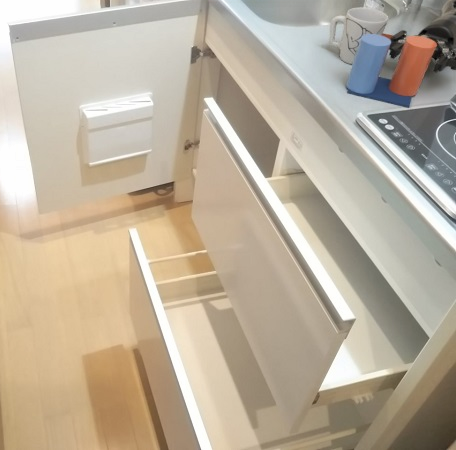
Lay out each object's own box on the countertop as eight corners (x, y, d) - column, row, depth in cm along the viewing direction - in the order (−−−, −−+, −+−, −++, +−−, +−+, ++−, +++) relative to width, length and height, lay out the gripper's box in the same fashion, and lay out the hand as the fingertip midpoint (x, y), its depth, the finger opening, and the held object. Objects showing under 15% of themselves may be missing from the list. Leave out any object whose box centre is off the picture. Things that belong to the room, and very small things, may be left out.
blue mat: (413, 86, 108) (414, 84, 108) (409, 107, 101) (409, 106, 101) (355, 73, 111) (355, 71, 111) (347, 93, 105) (347, 91, 104)
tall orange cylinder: (418, 87, 107) (437, 39, 100) (415, 98, 103) (436, 50, 96) (390, 80, 109) (407, 33, 102) (386, 92, 105) (404, 44, 98)
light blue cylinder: (376, 84, 107) (392, 37, 100) (372, 96, 103) (389, 48, 96) (348, 78, 109) (363, 31, 102) (343, 89, 105) (358, 41, 98)
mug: (316, 56, 117) (327, 11, 110) (331, 44, 122) (343, 0, 115) (365, 71, 112) (380, 25, 105) (378, 58, 117) (394, 14, 110)
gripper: (415, 10, 112) (385, 31, 103) (484, 29, 106) (459, 53, 96) (402, 44, 117) (373, 66, 108) (467, 64, 111) (443, 90, 101)
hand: (414, 60), depth 102 cm, fingers open, 8 cm apart
